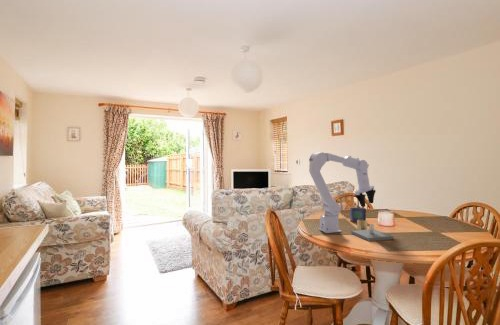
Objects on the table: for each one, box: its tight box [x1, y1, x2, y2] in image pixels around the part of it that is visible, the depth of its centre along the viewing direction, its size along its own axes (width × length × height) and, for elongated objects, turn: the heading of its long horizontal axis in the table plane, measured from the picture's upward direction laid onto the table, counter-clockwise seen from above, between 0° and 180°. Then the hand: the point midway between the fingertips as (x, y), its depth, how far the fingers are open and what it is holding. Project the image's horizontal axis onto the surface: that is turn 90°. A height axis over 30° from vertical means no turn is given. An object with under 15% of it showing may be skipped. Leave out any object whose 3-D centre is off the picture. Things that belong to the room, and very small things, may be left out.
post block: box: [350, 223, 394, 242], centre depth 143 cm, size 14×14×6 cm
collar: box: [356, 220, 368, 231], centre depth 157 cm, size 5×5×5 cm
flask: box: [349, 204, 367, 223], centre depth 176 cm, size 9×3×11 cm, turn 65°
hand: (367, 204), depth 157 cm, fingers open, 7 cm apart
